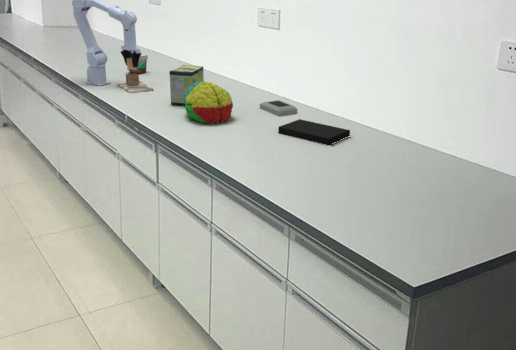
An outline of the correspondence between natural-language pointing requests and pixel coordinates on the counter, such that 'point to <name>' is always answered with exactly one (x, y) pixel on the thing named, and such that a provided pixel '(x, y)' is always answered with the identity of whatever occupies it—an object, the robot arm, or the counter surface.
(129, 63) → the terracotta block
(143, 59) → the food container
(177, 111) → the counter surface
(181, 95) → the protein box
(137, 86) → the baseplate
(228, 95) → the brain model
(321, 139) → the black microchip
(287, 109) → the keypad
